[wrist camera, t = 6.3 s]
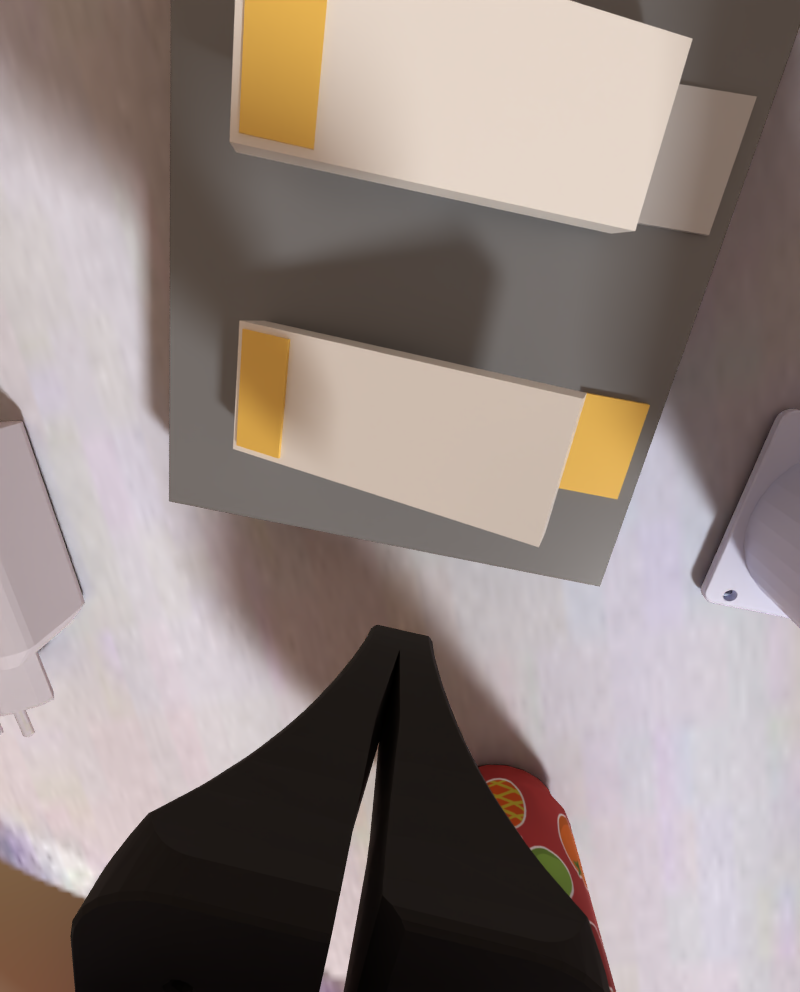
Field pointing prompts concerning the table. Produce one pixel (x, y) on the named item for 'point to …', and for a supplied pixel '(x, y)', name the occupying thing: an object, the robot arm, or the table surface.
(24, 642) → the charger
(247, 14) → the block
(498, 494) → the block
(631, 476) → the switch panel
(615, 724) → the table surface
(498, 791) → the smoothie
